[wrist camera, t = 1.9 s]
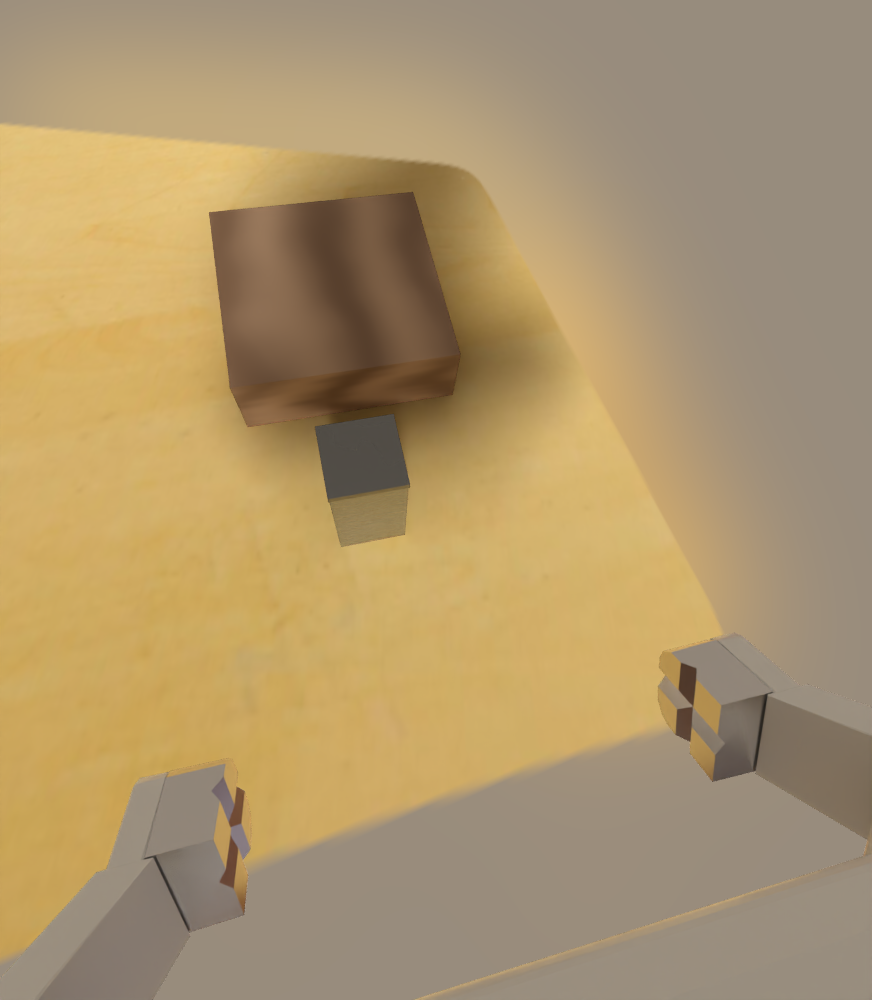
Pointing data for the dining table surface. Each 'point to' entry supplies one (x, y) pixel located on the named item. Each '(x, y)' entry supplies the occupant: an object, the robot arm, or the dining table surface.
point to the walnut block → (331, 308)
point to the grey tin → (364, 478)
